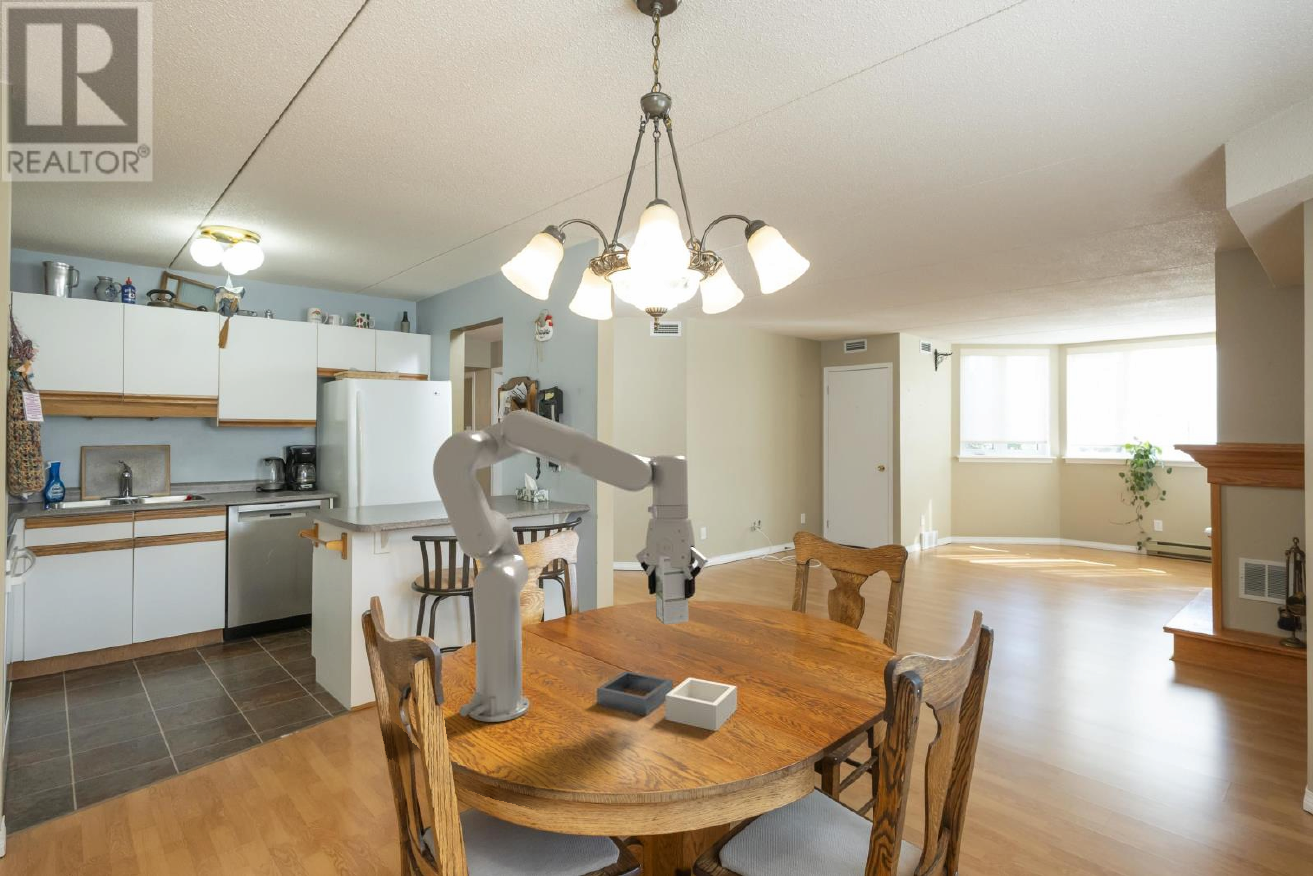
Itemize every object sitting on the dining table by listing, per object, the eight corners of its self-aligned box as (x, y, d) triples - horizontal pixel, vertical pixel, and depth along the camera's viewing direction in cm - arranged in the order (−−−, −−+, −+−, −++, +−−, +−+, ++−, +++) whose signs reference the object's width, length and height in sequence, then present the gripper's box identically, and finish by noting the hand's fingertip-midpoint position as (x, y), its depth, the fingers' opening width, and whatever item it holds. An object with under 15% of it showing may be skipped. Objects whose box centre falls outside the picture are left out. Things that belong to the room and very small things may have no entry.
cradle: (716, 731, 126) (716, 705, 126) (665, 719, 132) (665, 695, 132) (736, 710, 136) (736, 686, 136) (689, 700, 142) (689, 677, 142)
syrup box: (689, 622, 136) (688, 553, 136) (662, 625, 134) (661, 555, 134) (680, 615, 141) (679, 549, 141) (654, 618, 139) (653, 551, 139)
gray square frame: (646, 716, 133) (646, 699, 133) (596, 705, 139) (596, 688, 139) (672, 695, 144) (672, 680, 144) (625, 686, 150) (625, 670, 150)
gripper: (626, 513, 138) (627, 594, 138) (700, 516, 130) (701, 603, 130) (643, 509, 145) (644, 587, 145) (714, 512, 137) (716, 595, 137)
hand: (671, 594), depth 138 cm, fingers closed on syrup box, 7 cm apart
